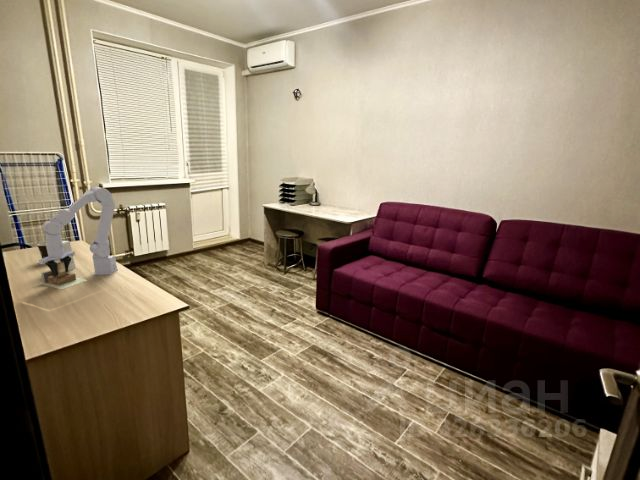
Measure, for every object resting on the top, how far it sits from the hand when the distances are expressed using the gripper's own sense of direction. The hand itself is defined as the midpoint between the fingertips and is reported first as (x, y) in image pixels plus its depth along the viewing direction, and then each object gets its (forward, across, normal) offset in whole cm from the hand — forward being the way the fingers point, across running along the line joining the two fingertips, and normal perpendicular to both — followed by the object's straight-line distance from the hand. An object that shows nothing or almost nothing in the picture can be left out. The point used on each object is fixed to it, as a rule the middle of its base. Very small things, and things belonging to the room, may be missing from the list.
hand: (60, 273), depth 160 cm
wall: (+4, 0, +5) cm, 6 cm away
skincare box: (+5, +10, +15) cm, 18 cm away
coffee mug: (+5, +15, +35) cm, 39 cm away
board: (+4, 0, -2) cm, 5 cm away
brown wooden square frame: (+4, 0, 0) cm, 4 cm away
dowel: (+2, 0, 0) cm, 2 cm away
